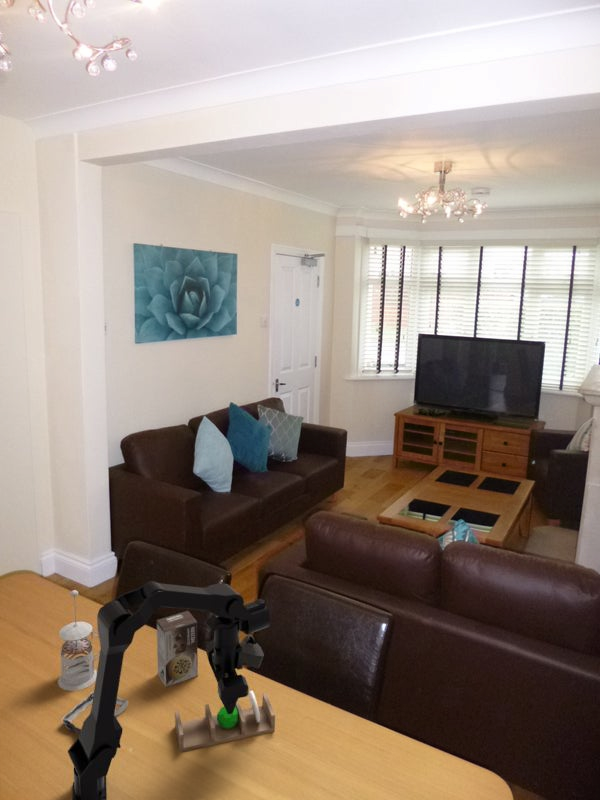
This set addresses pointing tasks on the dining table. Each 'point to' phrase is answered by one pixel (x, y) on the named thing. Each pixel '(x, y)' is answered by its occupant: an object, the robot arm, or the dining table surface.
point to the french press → (76, 643)
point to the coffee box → (177, 648)
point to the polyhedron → (227, 718)
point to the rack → (213, 733)
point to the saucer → (254, 706)
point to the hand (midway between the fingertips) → (225, 699)
